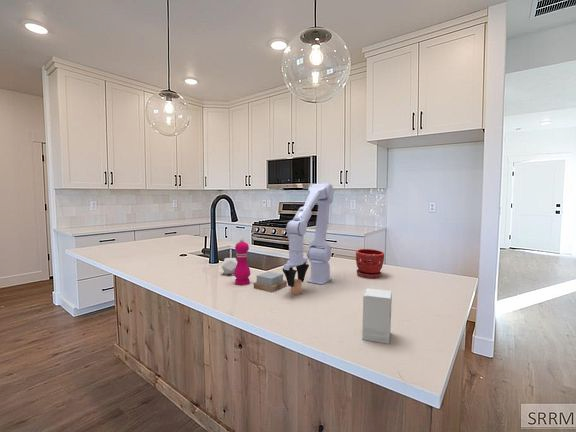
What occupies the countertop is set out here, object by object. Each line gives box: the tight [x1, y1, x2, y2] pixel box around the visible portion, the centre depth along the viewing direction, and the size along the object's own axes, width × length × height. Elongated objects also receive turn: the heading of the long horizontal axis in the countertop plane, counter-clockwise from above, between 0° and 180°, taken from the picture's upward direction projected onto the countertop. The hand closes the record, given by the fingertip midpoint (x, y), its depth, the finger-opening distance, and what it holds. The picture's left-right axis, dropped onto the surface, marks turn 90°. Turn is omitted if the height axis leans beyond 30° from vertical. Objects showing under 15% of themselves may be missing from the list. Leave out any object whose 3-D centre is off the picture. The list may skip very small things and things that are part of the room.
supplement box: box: [361, 288, 393, 344], centre depth 88 cm, size 7×7×13 cm
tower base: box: [253, 279, 288, 293], centre depth 133 cm, size 10×10×3 cm
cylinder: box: [290, 278, 303, 296], centre depth 126 cm, size 4×4×5 cm
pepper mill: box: [234, 238, 251, 286], centre depth 139 cm, size 7×7×20 cm
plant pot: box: [355, 248, 385, 279], centre depth 151 cm, size 13×13×12 cm
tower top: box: [256, 271, 284, 286], centre depth 133 cm, size 8×8×3 cm
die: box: [221, 257, 238, 276], centre depth 154 cm, size 8×9×10 cm
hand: (296, 284), depth 126 cm, fingers open, 7 cm apart
